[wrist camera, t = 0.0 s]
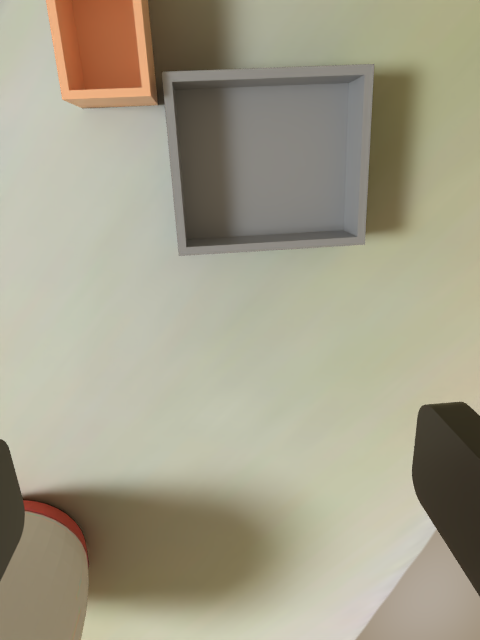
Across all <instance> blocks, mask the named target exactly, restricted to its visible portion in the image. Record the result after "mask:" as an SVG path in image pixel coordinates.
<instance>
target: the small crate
mask: <svg viewBox="0 0 480 640" xmlns="http://www.w3.org/2000/svg"><path fill="white" fill-rule="evenodd" d="M46 3H47V10H48V16H49V22H50V28H51V34H52V40H53V46H54V52H55V58H56V64H57V70H58V76H59V82H60V88H61V94H62V100H65V101H67V102H69V103H72V104H74V105H76V106H79V107H81V108H101V107H126V106H150V105H158V98H157V88H156V78H155V67H154V57H153V47H152V37H151V27H150V17H149V6H148V0H46Z"/></svg>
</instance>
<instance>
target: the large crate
mask: <svg viewBox="0 0 480 640" xmlns="http://www.w3.org/2000/svg"><path fill="white" fill-rule="evenodd" d="M373 77H374V64H363V65H335V66H308V67H280V68H252V69H225V70H197V71H169V72H162V81H163V92H164V102H165V113H166V124H167V134H168V145H169V156H170V166H171V177H172V188H173V198H174V209H175V220H176V230H177V241H178V252H179V256H185V255H201V254H218V253H234V252H250V251H267V250H283V249H300V248H316V247H332V246H349V245H365V232H366V212H367V193H368V174H369V154H370V135H371V116H372V96H373Z"/></svg>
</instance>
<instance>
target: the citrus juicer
mask: <svg viewBox="0 0 480 640" xmlns="http://www.w3.org/2000/svg"><path fill="white" fill-rule="evenodd" d="M23 502H24V508H25V521H24V528H23V532H22V536H21V539H20V541H19V543H18V545H17V548H16V550H15V552H14V554H13V556H12V558H11V560H10V562H9V564H8V566H7V568H6V571H5V573H4V575H3V577H2V579H1V581H0V640H81V636H82V631H83V626H84V621H85V616H86V609H87V600H88V586H89V577H88V567H89V561H88V554H87V548H86V543H85V539H84V536H83V534H82V531H81V529H80V528H79V527H78V525H77V524H76V522H75V521H74V520H73V519H71V518H70V517H69V516H68V515H67V514H65V513H64V512H62V511H61V510H59V509H57V508H55V507H53V506H50V505H48V504H44V503H40V502H36V501H27V500H23Z"/></svg>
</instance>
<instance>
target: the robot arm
mask: <svg viewBox="0 0 480 640" xmlns="http://www.w3.org/2000/svg"><path fill="white" fill-rule="evenodd" d="M412 478H413V484H414V489H415V492H416V495H417V497H418V499H419V501H420V503H421V505H422V506H423V508H424V510H425V511H426V513H427V514H428V516H429V517H430V519H431V521H432V522H433V524H434V525H435V527H436V528H437V530H438V532H439V533H440V535H441V536H442V538H443V539H444V541H445V543H446V544H447V546H448V547H449V549H450V550H451V552H452V553H453V555H454V557H455V558H456V560H457V561H458V563H459V564H460V566H461V568H462V569H463V571H464V572H465V574H466V576H467V577H468V579H469V580H470V582H471V583H472V585H473V587H474V588H475V590H476V591H477V593H478V594H479V596H480V416H479V415H478V414H477V413H476V412H475V411H474V410H473V409H472V408H471V407H470V406H468V405H467V404H466V403H464V402H452V403H440V404H429V405H423V406H422V407H421V408H420V410H419V413H418V418H417V428H416V437H415V446H414V456H413V465H412ZM24 521H25V508H24V502H23V499H22V495H21V491H20V487H19V484H18V480H17V476H16V472H15V469H14V465H13V461H12V458H11V454H10V450H9V447H8V445H7V444H6V442H5V441H3V440H1V439H0V581H1V579H2V577H3V575H4V573H5V571H6V568H7V566H8V564H9V562H10V560H11V558H12V556H13V554H14V552H15V550H16V548H17V545H18V543H19V541H20V539H21V536H22V532H23V528H24Z"/></svg>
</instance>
